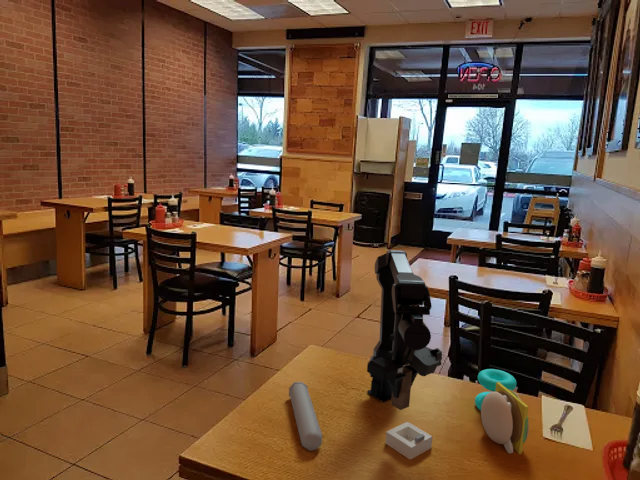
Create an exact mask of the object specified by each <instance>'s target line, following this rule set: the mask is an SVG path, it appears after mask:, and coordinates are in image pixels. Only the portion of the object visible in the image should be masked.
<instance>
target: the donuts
mask: <svg viewBox="0 0 640 480" xmlns="http://www.w3.org/2000/svg"><path fill="white" fill-rule="evenodd" d="M477 381H478V383H479V384H480V385H481V387H483V388H484V389H486V390H487V391H482V392H480V393H478V394H477V395H476V396H475V399H474V404H475V406H476V407H477V409H478V410H479V411H481V406H482V402H483V400H484V398H485V396H486V395H487V394H489V393H490V392H495V390H496V382H500V383H501V384H502V385H503V386H504V387H506V388H507V389H510V390H512V391H514V390H515V389H516V388H517V380H516V378H515V377H514V376H513V375H512V374H510V373H509V372H506V371H504V370H501V369H495V368H486V369H483V370H481V371H479V373H478V375H477Z"/></svg>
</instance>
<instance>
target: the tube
mask: <svg viewBox="0 0 640 480" xmlns="http://www.w3.org/2000/svg"><path fill="white" fill-rule="evenodd" d="M308 387H309V386H308V385H307V384H305V383H304V382H303V381H293V383H292V384H291V385H290V386H289V387H288V396H289V398H290V401H291V406H292V409H293V410H292V411H293V414H294V418H295V422H296V423H295V424H296V426H297V427H296V428H297V431H298V435H299V439H300V443H301V447H303V448H305V449H306V450H308V451H309V452H312V451H316V450H317V449H318V448H320V447H321V445H322V443H323V433H322V431H321V428H320V424H319V421H318V418H317V414H316V411H315V409H314V405H313V402H312V398H311V396H310V393H309V389H308Z"/></svg>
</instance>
